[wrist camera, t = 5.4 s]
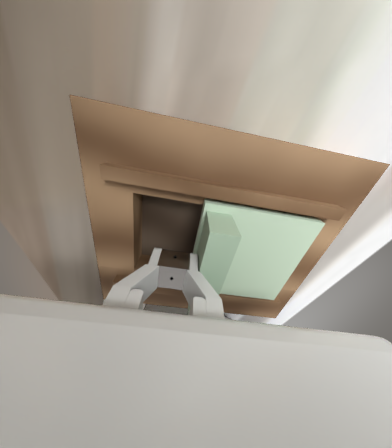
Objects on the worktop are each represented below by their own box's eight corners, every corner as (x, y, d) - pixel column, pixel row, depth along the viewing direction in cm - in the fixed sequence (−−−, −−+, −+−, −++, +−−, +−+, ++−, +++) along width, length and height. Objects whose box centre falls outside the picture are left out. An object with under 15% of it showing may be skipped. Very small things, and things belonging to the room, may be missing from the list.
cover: (204, 198, 10) (208, 222, 7) (317, 217, 11) (360, 247, 8) (186, 281, 14) (183, 319, 11) (270, 292, 15) (288, 330, 12)
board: (97, 103, 10) (56, 90, 7) (352, 159, 11) (405, 166, 9) (114, 278, 18) (99, 306, 15) (266, 297, 19) (278, 325, 16)
